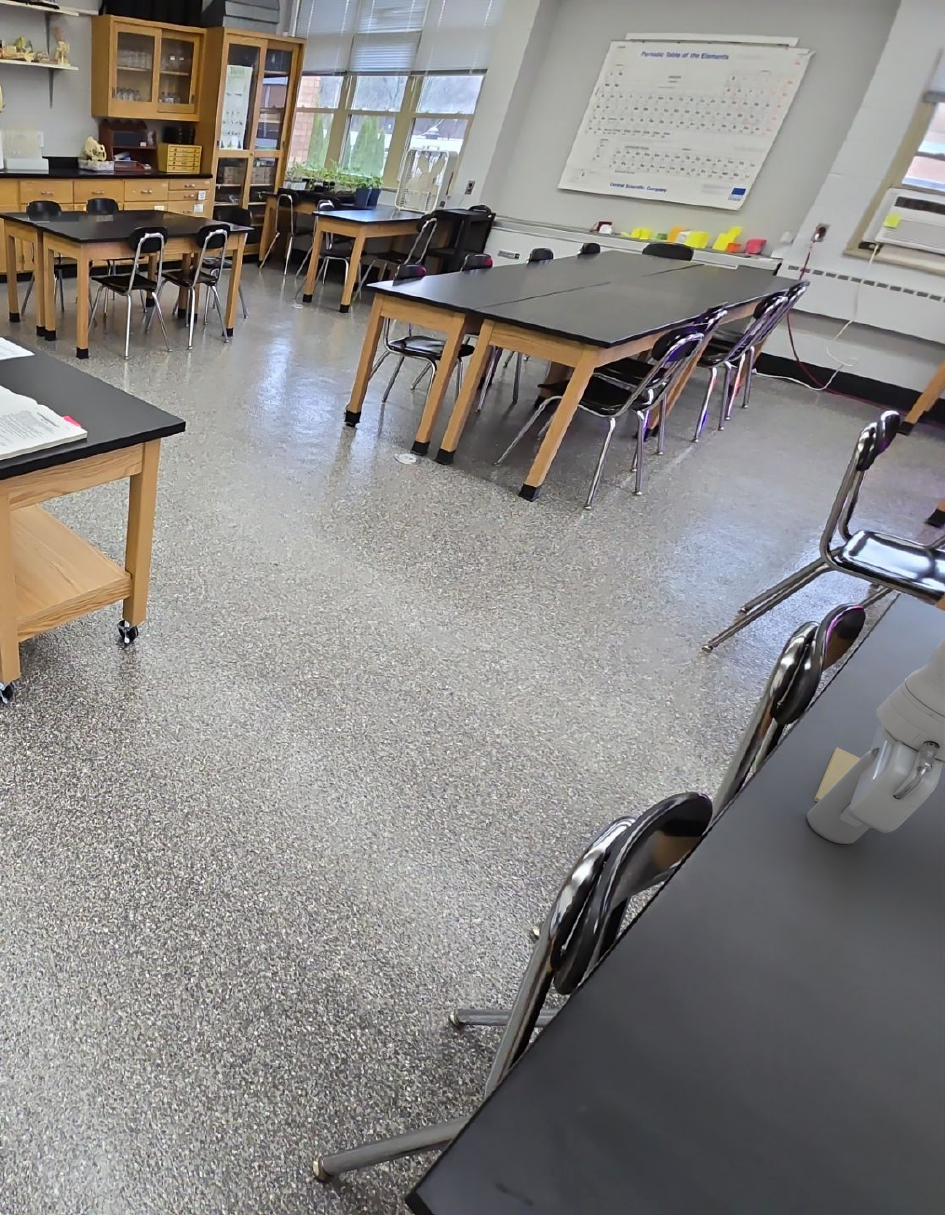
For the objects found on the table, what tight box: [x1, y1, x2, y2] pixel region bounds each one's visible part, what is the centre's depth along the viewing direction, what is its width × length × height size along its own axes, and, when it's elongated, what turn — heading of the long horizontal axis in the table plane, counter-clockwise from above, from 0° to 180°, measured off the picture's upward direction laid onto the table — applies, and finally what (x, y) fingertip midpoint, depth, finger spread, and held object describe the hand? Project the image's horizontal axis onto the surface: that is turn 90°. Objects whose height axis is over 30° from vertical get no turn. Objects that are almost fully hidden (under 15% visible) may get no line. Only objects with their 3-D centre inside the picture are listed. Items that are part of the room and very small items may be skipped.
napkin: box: [813, 747, 862, 803], centre depth 92 cm, size 13×4×1 cm, turn 132°
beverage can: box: [806, 747, 895, 845], centre depth 82 cm, size 5×5×12 cm
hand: (853, 805), depth 83 cm, fingers closed on beverage can, 5 cm apart
